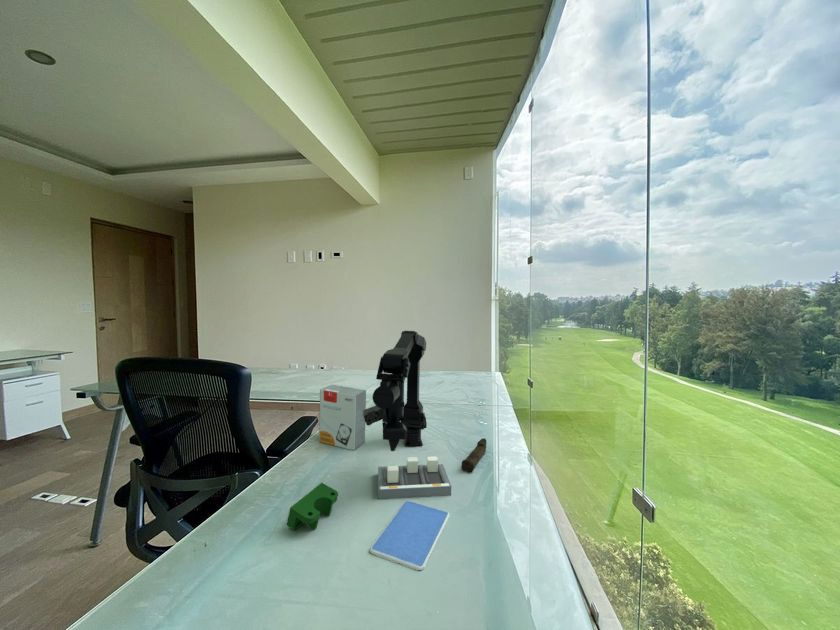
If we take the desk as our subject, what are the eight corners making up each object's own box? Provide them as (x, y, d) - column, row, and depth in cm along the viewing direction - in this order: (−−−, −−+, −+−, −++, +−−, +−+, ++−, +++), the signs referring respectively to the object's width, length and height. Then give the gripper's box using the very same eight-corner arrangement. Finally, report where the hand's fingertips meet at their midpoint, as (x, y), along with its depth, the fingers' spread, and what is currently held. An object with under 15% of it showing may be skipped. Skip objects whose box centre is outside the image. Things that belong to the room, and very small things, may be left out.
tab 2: (406, 468, 100) (407, 457, 100) (416, 468, 100) (417, 457, 100) (407, 473, 97) (407, 461, 97) (417, 472, 98) (417, 461, 98)
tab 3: (426, 467, 101) (426, 456, 100) (436, 467, 101) (436, 456, 101) (427, 472, 98) (428, 460, 98) (437, 471, 99) (438, 460, 98)
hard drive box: (318, 442, 122) (318, 389, 120) (331, 434, 129) (331, 384, 127) (354, 451, 116) (355, 395, 114) (366, 442, 123) (366, 389, 122)
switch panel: (378, 474, 101) (378, 464, 101) (442, 471, 104) (442, 462, 104) (378, 499, 89) (378, 487, 89) (451, 495, 92) (451, 484, 92)
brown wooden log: (472, 474, 103) (473, 460, 103) (460, 471, 105) (461, 456, 105) (492, 451, 119) (493, 438, 119) (481, 448, 121) (482, 435, 121)
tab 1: (387, 478, 94) (387, 466, 94) (397, 477, 95) (398, 465, 95) (387, 483, 92) (387, 470, 92) (398, 482, 92) (398, 470, 92)
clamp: (308, 549, 77) (305, 528, 72) (289, 535, 79) (284, 514, 75) (341, 504, 87) (339, 482, 82) (323, 493, 89) (320, 471, 84)
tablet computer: (405, 503, 89) (405, 498, 89) (450, 516, 84) (450, 511, 84) (368, 555, 71) (368, 549, 71) (422, 575, 66) (423, 568, 66)
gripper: (366, 388, 103) (365, 437, 104) (363, 408, 84) (362, 468, 85) (402, 387, 104) (400, 436, 105) (407, 408, 86) (406, 466, 87)
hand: (392, 450), depth 95 cm, fingers closed
